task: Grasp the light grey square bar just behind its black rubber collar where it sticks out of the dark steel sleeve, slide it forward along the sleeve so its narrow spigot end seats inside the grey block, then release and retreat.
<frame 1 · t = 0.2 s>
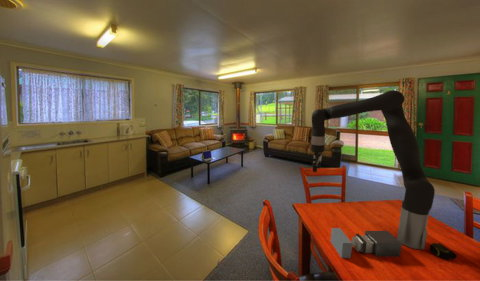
hand: (316, 169, 107), 29 cm above the table, fingers open, 8 cm apart
tape measure: (440, 254, 79), on the table
sleeve: (380, 249, 82), on the table
light grey square bar: (373, 243, 82), point 3 cm above the table, slide at 0.0 cm
grey block: (340, 249, 83), on the table
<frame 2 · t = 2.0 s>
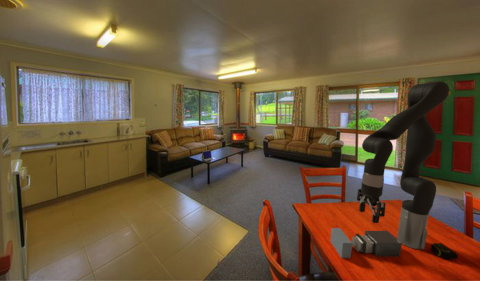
hand: (368, 216, 80), 17 cm above the table, fingers open, 8 cm apart
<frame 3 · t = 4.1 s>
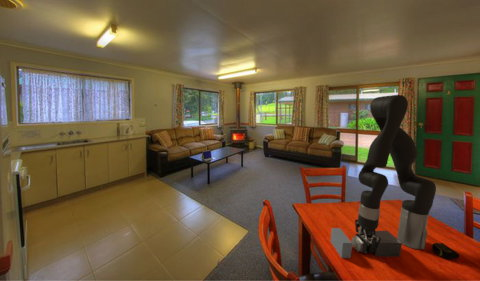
hand: (364, 247, 82), 1 cm above the table, fingers closed on light grey square bar, 5 cm apart
light grey square bar: (373, 243, 82), point 3 cm above the table, slide at 0.0 cm, touching gripper
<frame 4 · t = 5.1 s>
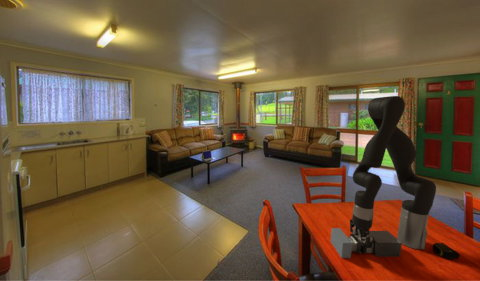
hand: (359, 247, 82), 1 cm above the table, fingers closed on light grey square bar, 5 cm apart
light grey square bar: (367, 243, 82), point 3 cm above the table, slide at 2.6 cm, touching gripper
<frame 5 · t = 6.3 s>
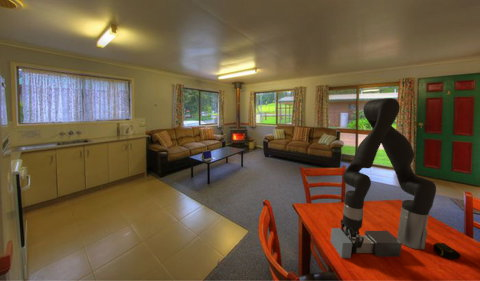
hand: (349, 247, 83), 1 cm above the table, fingers closed on light grey square bar, 5 cm apart
light grey square bar: (358, 243, 82), point 3 cm above the table, slide at 7.0 cm, touching gripper
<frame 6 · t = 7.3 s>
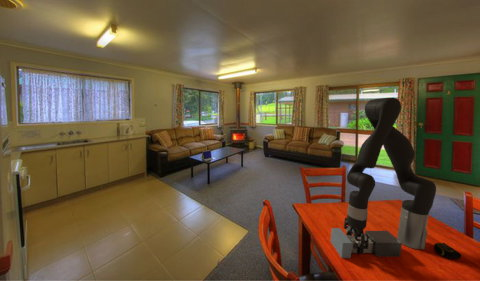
hand: (354, 246, 83), 1 cm above the table, fingers open, 8 cm apart
light grey square bar: (358, 243, 82), point 3 cm above the table, slide at 7.0 cm
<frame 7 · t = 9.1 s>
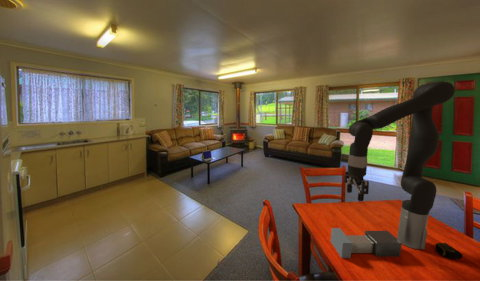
hand: (354, 196, 87), 23 cm above the table, fingers open, 8 cm apart
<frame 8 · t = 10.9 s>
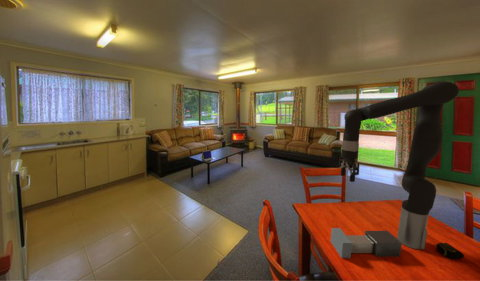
hand: (347, 178, 95), 28 cm above the table, fingers open, 8 cm apart
at the end: light grey square bar slide at 7.0 cm; light grey square bar 8.0 cm from the grey block (horizontally); the gripper is holding nothing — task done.
